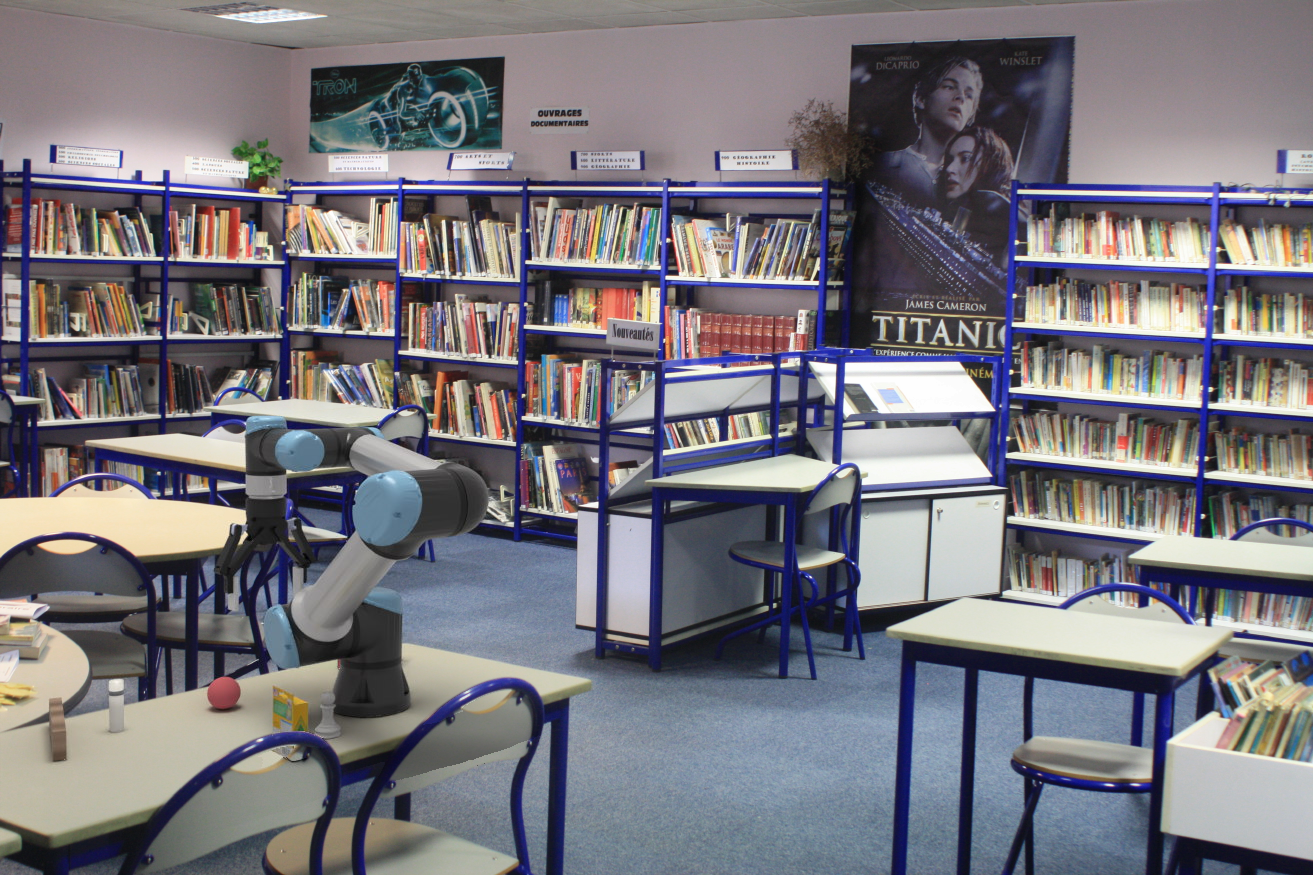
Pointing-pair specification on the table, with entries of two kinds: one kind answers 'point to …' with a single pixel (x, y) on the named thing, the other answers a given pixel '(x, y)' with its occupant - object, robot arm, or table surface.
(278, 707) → the crayon box
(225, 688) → the ball
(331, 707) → the chess piece
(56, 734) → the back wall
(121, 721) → the pin
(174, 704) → the table surface
